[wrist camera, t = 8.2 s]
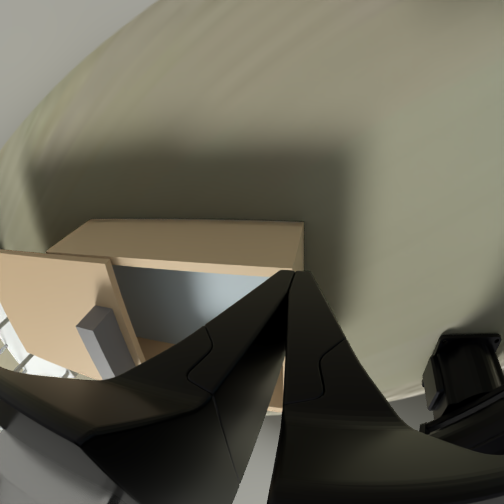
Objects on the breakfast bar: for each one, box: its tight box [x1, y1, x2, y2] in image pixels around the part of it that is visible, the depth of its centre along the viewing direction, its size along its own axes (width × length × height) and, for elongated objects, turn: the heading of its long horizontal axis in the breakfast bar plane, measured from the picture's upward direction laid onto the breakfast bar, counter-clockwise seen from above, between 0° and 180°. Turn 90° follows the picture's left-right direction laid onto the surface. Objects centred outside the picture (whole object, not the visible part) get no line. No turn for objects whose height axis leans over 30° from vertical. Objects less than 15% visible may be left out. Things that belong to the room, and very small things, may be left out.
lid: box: [0, 249, 146, 380], centre depth 23 cm, size 18×13×3 cm
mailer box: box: [46, 219, 304, 412], centre depth 24 cm, size 18×13×6 cm
